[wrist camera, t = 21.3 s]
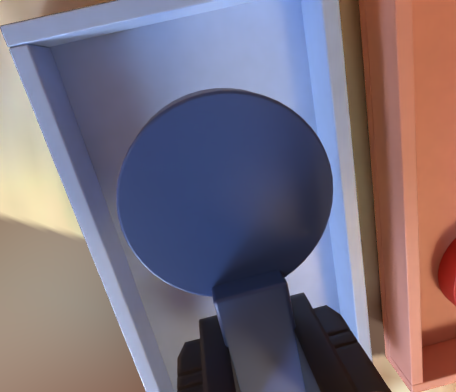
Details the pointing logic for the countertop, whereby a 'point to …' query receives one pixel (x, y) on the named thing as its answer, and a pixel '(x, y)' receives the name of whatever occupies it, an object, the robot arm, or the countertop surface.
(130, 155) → the blue spoon
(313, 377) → the robot arm
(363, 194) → the countertop surface
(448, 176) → the red tray
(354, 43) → the countertop surface
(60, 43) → the blue tray
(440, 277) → the red spoon
